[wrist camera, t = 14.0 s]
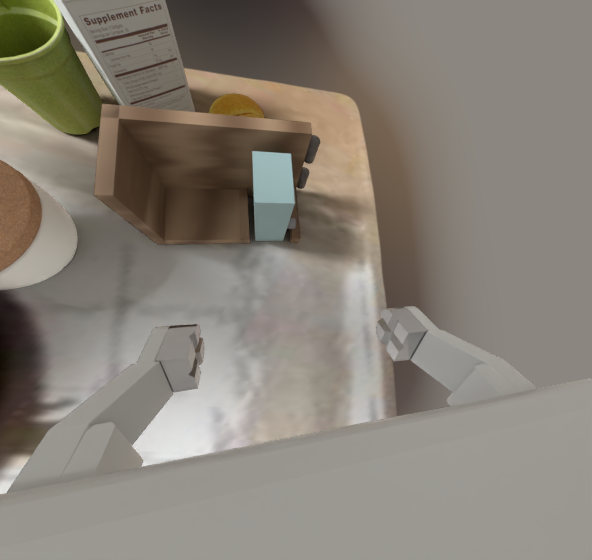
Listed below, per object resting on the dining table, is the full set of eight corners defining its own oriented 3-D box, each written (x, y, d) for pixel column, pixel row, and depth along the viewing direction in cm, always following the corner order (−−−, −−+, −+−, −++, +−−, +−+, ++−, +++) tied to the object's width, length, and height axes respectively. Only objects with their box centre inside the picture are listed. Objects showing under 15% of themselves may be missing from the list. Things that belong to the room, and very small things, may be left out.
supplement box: (114, 101, 27) (0, -82, 15) (170, 83, 29) (110, -92, 17) (146, 146, 27) (56, -3, 14) (201, 125, 29) (161, -22, 16)
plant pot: (38, 77, 26) (-67, -39, 18) (125, 87, 28) (67, -16, 19) (26, 144, 24) (-97, 51, 16) (119, 150, 26) (53, 68, 18)
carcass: (157, 244, 25) (93, 195, 15) (159, 184, 26) (102, 103, 16) (306, 242, 28) (332, 200, 18) (301, 188, 29) (323, 123, 20)
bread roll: (254, 105, 31) (254, 74, 27) (280, 158, 30) (283, 133, 26) (197, 117, 29) (188, 86, 25) (223, 174, 28) (218, 150, 24)
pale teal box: (255, 240, 27) (254, 202, 18) (253, 204, 28) (252, 150, 19) (292, 240, 28) (308, 203, 19) (289, 205, 29) (303, 154, 20)
